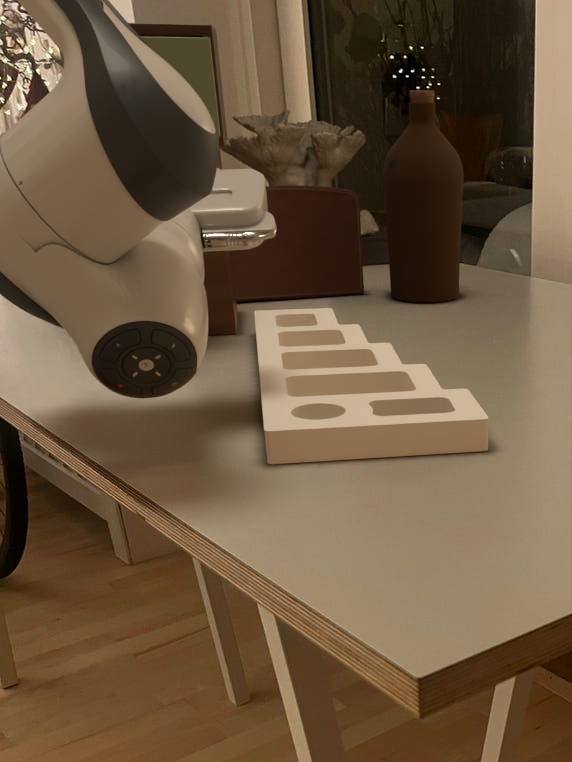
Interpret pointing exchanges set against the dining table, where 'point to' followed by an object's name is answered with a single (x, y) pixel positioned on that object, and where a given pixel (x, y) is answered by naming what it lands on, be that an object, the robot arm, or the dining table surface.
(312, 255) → the letter holder
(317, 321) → the holder
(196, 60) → the drawer
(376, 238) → the coral
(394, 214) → the olive oil
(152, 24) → the stand
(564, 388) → the dining table surface
